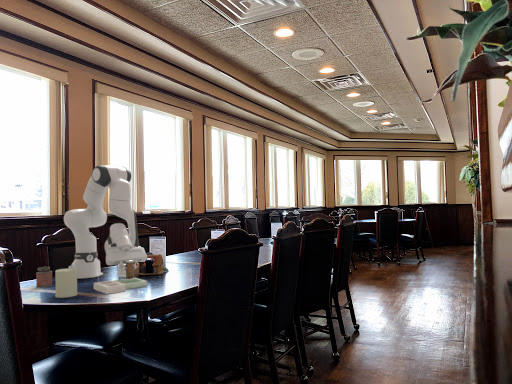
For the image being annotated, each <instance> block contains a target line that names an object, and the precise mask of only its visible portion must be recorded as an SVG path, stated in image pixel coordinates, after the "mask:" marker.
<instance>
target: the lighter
mask: <svg viewBox="0 0 512 384" xmlns="http://www.w3.org/2000/svg"><path fill="white" fill-rule="evenodd" d="M37 271H38V272H36V273H35V275H36V278H35V279H36V283H35V288H36V289H42V288H48V287H53V270H51V267H50V266H43V267H37Z"/></svg>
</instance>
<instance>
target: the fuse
mask: <svg viewBox="0 0 512 384" xmlns="http://www.w3.org/2000/svg"><path fill="white" fill-rule="evenodd" d="M133 262H134V260H125V263H126V264H125V265H126V267H127V269H126V270H125V279H126V281H133V280H134V278H135V277H134V269H133V265H134V264H133Z"/></svg>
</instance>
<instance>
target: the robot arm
mask: <svg viewBox="0 0 512 384" xmlns="http://www.w3.org/2000/svg"><path fill="white" fill-rule="evenodd" d="M131 180H132V171H131V170H130V169H129V168H127V167H125V166H124V167H123V166H119V165H104V164H100V165H96V166H95V167H94V168H93V169H92V172H91V176H90V177H89V180H88V182H87V184H86V187H85V189H84V193H83V195H82V199H83V202H84V203H86V204H87V207H86V208H75V209H71V210H67V211H66V212H65V214H64V216H63V222H64V225H65V226H66V227H67V228H68V229H70V231H71V232H72V234H73V236H74V239H75V241H74V242H75V253H74V260H73V262H72V263H71V265H68V269H69V268H75V269H77V279H89V278H96V277H100V276H103V275H104V272H101V261H100V259H98V255H99V254H98V251H97V237H96V236H95V235H93V233H91V232H90V229H91V228H98V227H102V226H104V225H105V224H106V222H107V219H108V214H107V212H106V211H105V210H104V206H103V205H104V201H105V197H106V194H107V192H108V189H109V197H108V209H109V211H110V212H111V213H112V214H113V215H115V216H116V217H118V218H121V219H123V220H124V221H126V223H127V227H128V228H127V227H126V225H125V224H124V223H121V222H117V223H116V222H115V223H113V224H111V225H110V227H109V235H108V237H107V238H106V240H105V241H104V244H103V249H104V253H105V263H106V265H107V266H115V265H118V266H119V267H121V269H122V270H123V271H126V269H127V267H126V263H125V260H134V262H133V270H136V269H137V264H138V262H145V261H146V259H147V255H148V254H147V253H146V250H145V247H141V246H140V242H139V234H138V231H139V230H138V223H137V222H138V219H137V215H136V214H137V213H136V212H135V210H134V209H133V208H132V205H131V195H132V193H131V192H132V188H131V184H130V182H131Z"/></svg>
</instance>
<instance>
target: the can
mask: <svg viewBox="0 0 512 384" xmlns="http://www.w3.org/2000/svg"><path fill="white" fill-rule="evenodd" d="M77 295H78V278H77V269H75V268H69V267H68V268H59V269H56V270H55V295H54V296H55V298H61V299H65V298H73V297H76V296H77Z"/></svg>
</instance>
